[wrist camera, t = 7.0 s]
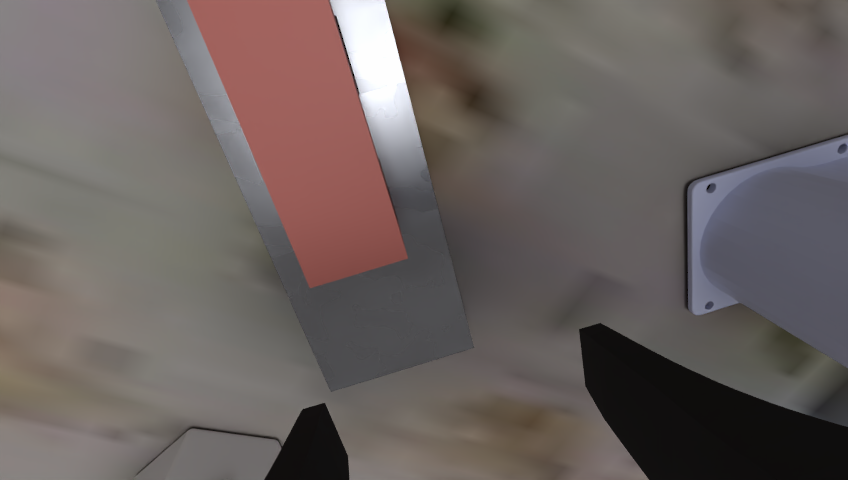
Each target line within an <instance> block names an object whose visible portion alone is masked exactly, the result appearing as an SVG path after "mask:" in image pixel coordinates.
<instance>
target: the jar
mask: <svg viewBox="0 0 848 480" xmlns="http://www.w3.org/2000/svg"><path fill="white" fill-rule="evenodd" d="M281 449H282V448H281V446H280V444H279V442H278V441H277V440H275V439H268V438H261V437H254V436H246V435H239V434H232V433H224V432H217V431H210V430H202V429H195V428H192V429H189V430H188V431H187V432H186V433H184V434H183V435H182V436H181V437H180V438H179V439H178V440H176V441H175V442H174V443H173V444H172V445H171V446H170V447H168V448H167V449H166V450H165V451H164V452H163V453H161V454H160V455H159V456H158V457H157V458H156V459H155V460H153V461H152V462H151V463H150V464H149V465H148V466H147V467H145V468H144V469H143V470H142V471H141V472H140V473H139V474H137V475H136V476H135V477H134V479H133V480H264V479H265V477H266V476H267V474H268V472H269V470H270V469H271V467H272V465H273V463H274V461H275V460H276V458H277V456H278V454H279V452H280V450H281Z"/></svg>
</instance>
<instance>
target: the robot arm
mask: <svg viewBox="0 0 848 480" xmlns="http://www.w3.org/2000/svg"><path fill="white" fill-rule="evenodd" d="M838 147H839V148H838ZM709 184H710V187H709V189H708V190H706V189H707V186H708V185H709ZM687 220H688V309H689V311H690V312H691V313H693V314H694V315H702V314H705V313H708V312H711V311H715V310H718V309H721V308H724V307H728V306H731V305H734V304H737V303H742V304H743V305H745V306H747V307H748V308H750V309H752V310H753V311H755V312H756V313H758V314H760V315H761V316H763V317H765V318H766V319H768V320H770V321H771V322H773V323H774V324H776V325H778V326H779V327H781V328H783V329H784V330H786V331H788V332H789V333H791V334H793V335H794V336H796V337H797V338H799V339H801V340H802V341H804V342H806V343H807V344H809V345H811V346H812V347H814V348H815V349H817V350H819V351H820V352H822V353H824V354H825V355H827V356H829V357H830V358H832V359H834V360H835V361H837V362H838V363H840V364H842V365H843V366H845V367H847V368H848V135H845V136H841V137H838V138H835V139H831V140H828V141H825V142H821V143H818V144H815V145H811V146H808V147H805V148H801V149H798V150H795V151H791V152H788V153H785V154H781V155H778V156H775V157H771V158H768V159H764V160H761V161H758V162H754V163H751V164H748V165H744V166H741V167H738V168H734V169H731V170H728V171H724V172H721V173H718V174H714V175H711V176H708V177H704V178H701V179H698V180H695V181H693V182H692V183H691V184H690V185H689V187H688V191H687ZM579 332H580V341H581V350H582V359H583V368H584V377H585V386H586V388H587V389H588V391H589V393H590V395H591V397H592V398H593V400H594V402H595V404H596V406H597V407H598V409H599V411H600V412H601V414H602V416H603V417H604V419H605V421H606V422H607V423H608V425H609V426H610V427H611V429H612V430H613V432H614V433H615V434H616V436H617V437H618V438H619V440H620V441H621V442H622V444H623V445H624V447H625V448H626V449H627V451H628V452H629V453H630V455H631V456H632V457H633V459H634V460H635V461H636V463H637V464H638V465H639V467H640V468H641V469H642V471H643V472H644V473H645V475H646V476H647V477H648V479H649V480H848V427H845V426H842V425H838V424H835V423H831V422H828V421H824V420H821V419H818V418H815V417H812V416H809V415H805V414H802V413H799V412H796V411H793V410H790V409H787V408H784V407H781V406H778V405H775V404H772V403H769V402H767V401H764V400H761V399H759V398H756V397H753V396H751V395H748V394H746V393H743V392H740V391H738V390H735V389H733V388H730V387H728V386H725V385H723V384H721V383H718V382H716V381H714V380H711V379H709V378H707V377H705V376H703V375H700V374H698V373H696V372H694V371H691V370H689V369H687V368H685V367H683V366H681V365H679V364H677V363H675V362H673V361H671V360H669V359H667V358H665V357H663V356H661V355H659V354H657V353H655V352H653V351H651V350H649V349H647V348H646V347H644V346H642V345H640V344H638V343H636V342H634V341H632V340H631V339H629V338H627V337H625V336H623V335H621V334H620V333H618V332H616V331H614V330H612V329H610V328H609V327H607V326H605V325H603V324H601V323H599V324H596V325H592V326H589V327H585V328H582V329H579ZM264 480H349V466H348V455H347V453H346V451H345V448H344V446H343V444H342V441H341V439H340V437H339V435H338V432H337V430H336V428H335V425H334V423H333V421H332V418H331V416H330V414H329V412H328V409H327V407H326V405H325V403H323V404H319V405H316V406H312V407H309V408H305V409H303V410H302V411H301V413H300V415H299V417H298V418H297V420H296V422H295V424H294V426H293V428H292V430H291V432H290V434H289V435H288V437H287V439H286V441H285V443H284V445H283V447H282V449H281V450H280V452H279V454H278V456H277V458H276V460H275V461H274V463H273V465H272V467H271V469H270V470H269V472H268V474H267V476H266V477H265V479H264Z"/></svg>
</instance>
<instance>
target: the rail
mask: <svg viewBox="0 0 848 480" xmlns="http://www.w3.org/2000/svg"><path fill="white" fill-rule="evenodd" d="M156 2H157V4H158V6H159V9H160V11H161V13H162V15H163V17H164V20H165V22H166V24H167V26H168V29H169V31H170V33H171V35H172V38H173V40H174V42H175V44H176V47H177V49H178V51H179V53H180V55H181V58H182V60H183V62H184V64H185V67H186V69H187V71H188V73H189V76H190V78H191V80H192V82H193V85H194V87H195V89H196V91H197V93H198V96H199V98H200V100H201V102H202V105H203V107H204V109H205V111H206V114H207V116H208V118H209V120H210V123H211V125H212V127H213V129H214V131H215V134H216V136H217V138H218V140H219V143H220V145H221V147H222V149H223V152H224V154H225V156H226V158H227V161H228V163H229V165H230V167H231V169H232V172H233V174H234V176H235V178H236V181H237V183H238V185H239V187H240V190H241V192H242V194H243V196H244V199H245V201H246V203H247V205H248V207H249V210H250V212H251V214H252V216H253V219H254V221H255V223H256V225H257V228H258V230H259V232H260V234H261V237H262V239H263V241H264V243H265V245H266V248H267V250H268V252H269V254H270V257H271V259H272V261H273V263H274V266H275V268H276V270H277V272H278V275H279V277H280V279H281V281H282V283H283V286H284V288H285V290H286V292H287V295H288V297H289V299H290V301H291V304H292V306H293V308H294V310H295V313H296V315H297V317H298V319H299V321H300V324H301V326H302V328H303V330H304V333H305V335H306V337H307V339H308V342H309V344H310V346H311V348H312V351H313V353H314V355H315V357H316V359H317V362H318V364H319V366H320V368H321V371H322V373H323V375H324V377H325V380H326V382H327V384H328V386H329V389H330V391H331V392H332V391H335V390H338V389H342V388H345V387H348V386H351V385H355V384H358V383H361V382H364V381H368V380H371V379H374V378H377V377H380V376H384V375H387V374H390V373H393V372H397V371H400V370H403V369H406V368H410V367H413V366H416V365H419V364H423V363H426V362H429V361H432V360H436V359H439V358H442V357H445V356H449V355H452V354H455V353H458V352H462V351H465V350H468V349H471V348H474V346H473V342H472V338H471V334H470V330H469V326H468V322H467V319H466V315H465V311H464V307H463V303H462V299H461V295H460V291H459V287H458V284H457V280H456V276H455V272H454V268H453V264H452V260H451V256H450V252H449V249H448V245H447V241H446V237H445V233H444V229H443V225H442V221H441V218H440V214H439V210H438V206H437V202H436V198H435V194H434V190H433V186H432V183H431V179H430V175H429V171H428V167H427V163H426V159H425V155H424V152H423V148H422V144H421V140H420V136H419V132H418V128H417V124H416V120H415V117H414V113H413V109H412V105H411V101H410V97H409V93H408V89H407V86H406V82H405V78H404V74H403V70H402V66H401V62H400V58H399V54H398V51H397V47H396V43H395V39H394V35H393V31H392V27H391V23H390V20H389V16H388V12H387V8H386V4H385V0H330V3H331V6H332V9H333V13H334V16H335V19H336V22H337V23H339V26H340V29H341V33H342V36H343V39H344V43H345V46H346V49H347V53H348V56H349V59H350V63H351V66H352V69H353V73H354V76H355V79H356V83H357V86H358V89H359V91H358V94H359V97H360V100H361V103H362V107H363V110H364V113H365V116H366V120H367V123H368V126H369V129H370V133H371V136H372V139H373V142H374V146H375V149H376V152H377V155H378V159H380V162H381V166H382V169H383V172H384V175H385V179H386V182H387V185H388V189H389V192H390V195H391V199H392V202H393V203H392V204H393V207H394V210H395V214H396V217H397V220H398V223H399V227H400V230H401V234H402V238H403V241H404V245H405V249H406V252H407V256H408V259H405V260H402V261H398V262H395V263H392V264H388V265H385V266H382V267H379V268H375V269H372V270H369V271H365V272H362V273H359V274H356V275H352V276H349V277H346V278H342V279H339V280H336V281H333V282H329V283H326V284H323V285H319V286H316V287H313V288H310V287H309V285H308V283H307V280H306V278H305V276H304V273H303V271H302V269H301V266H300V264H299V262H298V259H297V257H296V255H295V252H294V250H293V248H292V245H291V243H290V241H289V238H288V236H287V234H286V231H285V229H284V227H283V224H282V222H281V219H280V217H279V215H278V212H277V210H276V208H275V205H274V203H273V201H272V198H271V196H270V194H269V191H268V189H267V187H266V184H265V182H264V180H263V177H262V175H261V173H260V170H259V168H258V166H257V163H256V161H255V159H254V156H253V154H252V152H251V149H250V147H249V145H248V142H247V140H246V138H245V135H244V133H243V131H242V128H241V126H240V123H239V121H238V119H237V116H236V114H235V112H234V109H233V107H232V105H231V102H230V100H229V98H228V95H227V93H226V91H225V88H224V86H223V84H222V81H221V79H220V77H219V74H218V72H217V70H216V67H215V65H214V63H213V60H212V58H211V56H210V53H209V51H208V49H207V46H206V44H205V42H204V39H203V37H202V35H201V32H200V30H199V27H198V25H197V23H196V20H195V18H194V16H193V13H192V11H191V9H190V6H189V4H188V2H187V0H156Z"/></svg>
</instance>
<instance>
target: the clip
mask: <svg viewBox="0 0 848 480" xmlns="http://www.w3.org/2000/svg"><path fill="white" fill-rule="evenodd" d="M187 2H188V4H189V6H190V9H191V11H192V13H193V16H194V18H195V20H196V23H197V25H198V27H199V30H200V32H201V35H202V37H203V39H204V42H205V44H206V46H207V49H208V51H209V53H210V56H211V58H212V60H213V63H214V65H215V67H216V70H217V72H218V74H219V77H220V79H221V81H222V84H223V86H224V88H225V91H226V93H227V95H228V98H229V100H230V102H231V105H232V107H233V109H234V112H235V114H236V116H237V119H238V121H239V123H240V126H241V128H242V131H243V133H244V135H245V138H246V140H247V142H248V145H249V147H250V149H251V152H252V154H253V156H254V159H255V161H256V163H257V166H258V168H259V170H260V173H261V175H262V177H263V180H264V182H265V184H266V187H267V189H268V191H269V194H270V196H271V198H272V201H273V203H274V205H275V208H276V210H277V212H278V215H279V217H280V219H281V222H282V224H283V227H284V229H285V231H286V234H287V236H288V238H289V241H290V243H291V245H292V248H293V250H294V252H295V255H296V257H297V259H298V262H299V264H300V266H301V269H302V271H303V273H304V276H305V278H306V280H307V283H308V285H309V287H310V288H313V287H316V286H319V285H323V284H326V283H329V282H333V281H336V280H339V279H342V278H346V277H349V276H352V275H356V274H359V273H362V272H365V271H369V270H372V269H375V268H379V267H382V266H385V265H388V264H392V263H395V262H398V261H402V260H405V259H408V256H407V252H406V249H405V245H404V241H403V238H402V234H401V230H400V227H399V223H398V220H397V217H396V214H395V210H394V207H393V204H392V201H391V197H390V194H389V191H388V188H387V184H386V181H385V178H384V175H383V172H382V168H381V165H380V162H379V159H378V155H377V152H376V149H375V146H374V142H373V139H372V136H371V133H370V129H369V126H368V123H367V120H366V116H365V113H364V110H363V107H362V103H361V100H360V97H359V94H358V90H357V87H356V84H355V81H354V77H353V74H352V71H351V68H350V64H349V61H348V58H347V55H346V52H345V48H344V45H343V42H342V39H341V35H340V32H339V29H338V26H337V22H336V19H335V16H334V13H333V9H332V6H331V3H330V0H187Z"/></svg>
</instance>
